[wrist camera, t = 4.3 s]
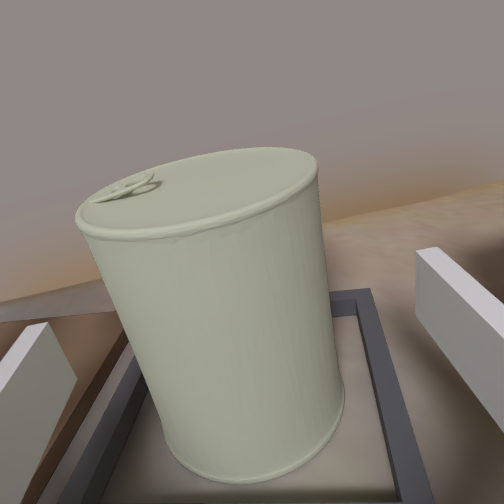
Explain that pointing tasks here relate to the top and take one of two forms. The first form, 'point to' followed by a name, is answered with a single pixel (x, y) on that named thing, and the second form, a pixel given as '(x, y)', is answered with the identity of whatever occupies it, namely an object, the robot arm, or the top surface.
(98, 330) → the walnut board
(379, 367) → the grey picture frame
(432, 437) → the top surface
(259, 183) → the can
